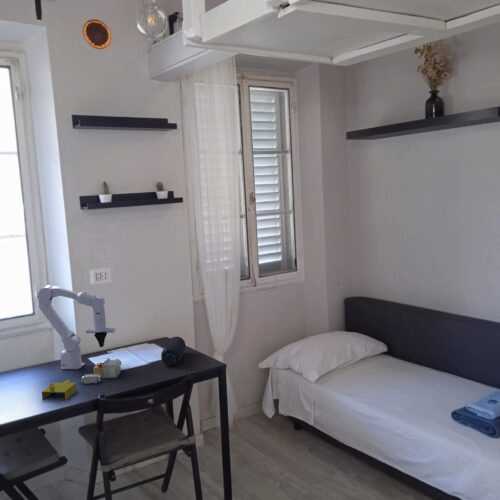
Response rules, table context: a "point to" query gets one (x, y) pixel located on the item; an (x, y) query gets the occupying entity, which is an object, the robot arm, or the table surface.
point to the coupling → (111, 368)
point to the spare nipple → (91, 378)
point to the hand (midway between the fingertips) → (101, 346)
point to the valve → (98, 369)
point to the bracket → (60, 389)
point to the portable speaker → (173, 351)
